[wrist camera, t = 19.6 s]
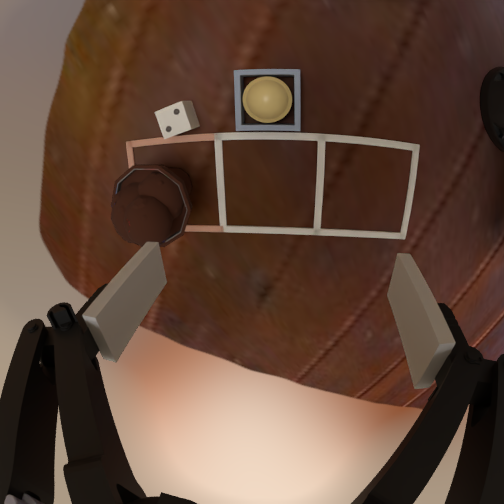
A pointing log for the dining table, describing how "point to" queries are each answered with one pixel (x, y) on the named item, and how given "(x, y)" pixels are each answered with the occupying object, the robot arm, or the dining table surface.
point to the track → (319, 179)
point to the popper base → (262, 73)
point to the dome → (267, 99)
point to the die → (177, 119)
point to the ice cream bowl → (151, 204)
